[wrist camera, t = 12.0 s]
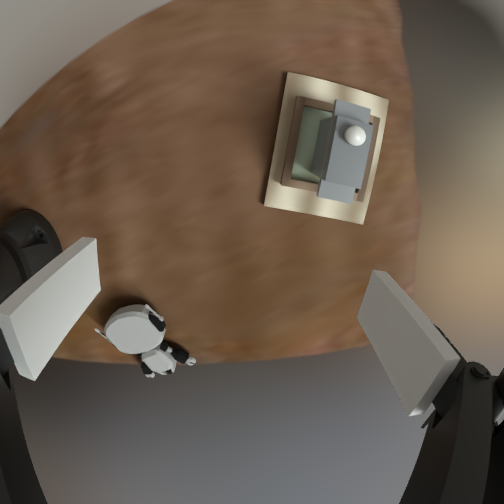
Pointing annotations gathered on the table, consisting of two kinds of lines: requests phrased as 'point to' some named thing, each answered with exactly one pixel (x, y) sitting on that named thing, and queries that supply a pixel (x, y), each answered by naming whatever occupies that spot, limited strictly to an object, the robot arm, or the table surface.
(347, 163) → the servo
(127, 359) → the table surface
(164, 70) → the table surface
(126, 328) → the robot toy
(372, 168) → the pocket board
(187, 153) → the table surface
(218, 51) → the table surface
